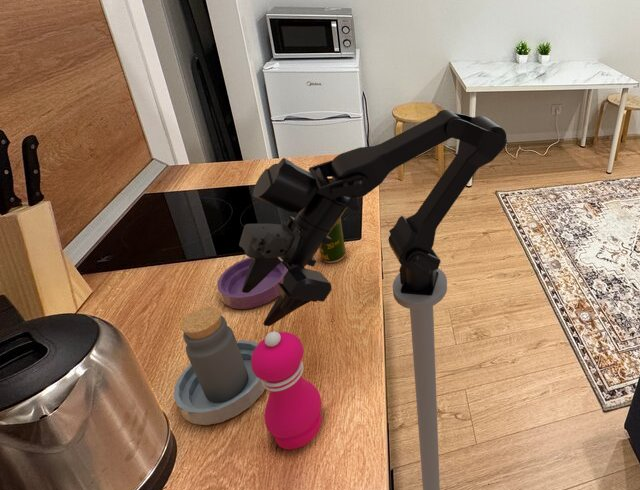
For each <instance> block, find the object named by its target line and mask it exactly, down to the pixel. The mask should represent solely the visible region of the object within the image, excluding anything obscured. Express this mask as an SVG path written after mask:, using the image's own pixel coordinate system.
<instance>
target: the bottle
mask: <svg viewBox="0 0 640 490" xmlns="http://www.w3.org/2000/svg"><path fill="white" fill-rule="evenodd" d="M180 329H181V331H182V332H183V334H182V336H183V341H184V342H185V344H186V346H185V353H186V356H187V358H188V360H189V364H190V363H191V365H192V367H193V370H194V372H195V374H196V376H197V379H198V381H199V383H200V385H201V387H202V390H203V392H204V394H205V396H206V398H207V399H208V400H209V401H211V402H214V403H220V402H225V401H228V400H230V399H232V398H234V397H235V396H237V395H238V394H239V393H240V392H241V391H242V390H243V389H244V388H245V386H246V384H247V382H248V373H247V369H246V367H245V364H244V361H243V358H242V355H241V352H240V350H239V347H238V344H237V341H238V340H237V339H236V335H235V333H234V331H233V329H232V328H231V327H230V326H228V324H227V319H226V318H225V317H224V316H223V315H222V311H221V309H220V308H219V307H216V306H212V305H211V306H203V307H200V308H198V309H196V310H193V311H192V312H190V313H189V314H187V315H186V316H185V317H184V319H183V320H182V322H181V324H180Z"/></svg>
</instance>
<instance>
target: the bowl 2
mask: <svg viewBox="0 0 640 490" xmlns="http://www.w3.org/2000/svg"><path fill="white" fill-rule="evenodd" d="M236 341H237V344H238V347H239V350H240V352H241V355H242V358H243V361H244V364H245V367H246V369H247V373H248V382H247V384H246V386H245V388H244V389H243V390H242V391H241V392H240V393H239V394H238V395H237V396H235V397H234V398H232V399H230V400H228V401H225V402H220V403H214V402H211V401H209V400H208V399H207V398H206V396H205V394H204V392H203V390H202V387H201V385H200V383H199V381H198V379H197V376H196V374H195V372H194V370H193V367H192V365H191V363H190V362H189V364H188V365H187V366H186V368H185V369H184V370H183V371H182V372H181V373H180V374H179V377H178V379H177V381H176V382H175V385H174V388H173V389H174V391H173V400H174V402H175V404H176V406H177V408H178V409H179V412H180V414H181V416H182V418H183V419H184V420H185V421H187V422H189V423H191V424H193V425H203V426H209V425H214V424H220V423H223V422H225V421H228V420H231V419H232V418H234V417H236V416H239V415H240V414H241V413H243V412H244V411H246V410H248V408H250V407H251V406H252V405H254V404H255V402H256V401H257V400H258V399H259V398H260V397H261V396H262V395H263V394H264V392H265V390H266V389H265V388H264V387H263V385H262V381H261V379H260V378H258V377H256V375H255V374H254V372H253V370H252V367H251V358H252V354H253V351H254V349H255V348H256V346H257V345H258V344H259V342H256V341H254V340H248V339H247V340H246V339H245V340H244V339H240V340H236Z"/></svg>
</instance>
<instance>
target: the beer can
mask: <svg viewBox="0 0 640 490" xmlns="http://www.w3.org/2000/svg"><path fill="white" fill-rule="evenodd" d="M328 236H329V237H330V238H331V239H332V240H331V241H330V243H329V244H325V243H322V245H321V246H320V248H319V249H318V251H319V256H320V259H321V260H322V261H323V262H324V263H326V264H335V263H338V262H340V261H342V260H343V259H344V258H345V255H346V253H347V249H346V243H345V237H344V232H343V225H342V218H341V217H340V218H339V220H338V221H337V223H336V224H335V226H334V227H333V229H332V230H331V232H330V233H329V235H328Z"/></svg>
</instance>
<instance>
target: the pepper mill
mask: <svg viewBox="0 0 640 490" xmlns="http://www.w3.org/2000/svg"><path fill="white" fill-rule="evenodd" d="M304 352H305V351H304V345H303V342H302V341H301V340H300V338H299V336H297V335H296V334H294V333H292V332H288V331H279V332H278V331H271V332H268V333H267V334H266V336H265V337H264V338H263V339H262V340H261V341H259V342H258V345H257V346H256V348H255V349H254V351H253V354H252V358H251V367H252V370H253V372H254V374H255V375H256V377H258V378H260V379H261V381H262V385H263V387H264V388H265V390H267V391H268V392H269V396H268V399H267V401H266V404H265V408H264V415H263V417H264V424H265V428H266V430H267V431H268V432H269V434H271V436H273V438H274V440H275V442H276V444H277V446H279V447H280V448H281V449H284V450H287V451H288V450H297V449H299V448H302V447H304V446H305V445H307V444H308V443H309V442H311V441H312V440H313V439H314V438H315V436H316V435H317V434H318V433H319V431H320V428H321V427H322V412H321V408H322V397H321V394H320V392H319V390H318V389H317V387H316V386H315V385H314V384H313V383H312V382H311V381H308V380H307V379H305V378H304V377H303V376H302V374H303V372H304V363H303V358H304Z"/></svg>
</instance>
